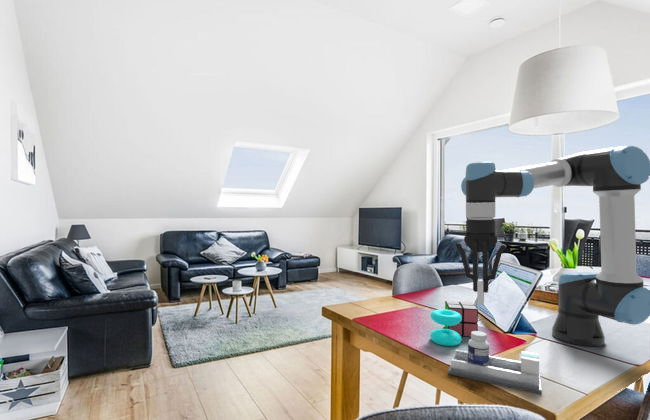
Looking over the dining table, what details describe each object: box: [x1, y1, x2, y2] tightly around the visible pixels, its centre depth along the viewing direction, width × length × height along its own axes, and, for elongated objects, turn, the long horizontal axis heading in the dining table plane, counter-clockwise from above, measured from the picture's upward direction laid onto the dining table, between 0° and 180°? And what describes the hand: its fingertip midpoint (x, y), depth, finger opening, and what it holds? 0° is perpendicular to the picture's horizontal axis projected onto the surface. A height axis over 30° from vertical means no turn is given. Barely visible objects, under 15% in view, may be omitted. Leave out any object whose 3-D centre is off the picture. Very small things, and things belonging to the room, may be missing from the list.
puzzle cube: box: [444, 300, 479, 338], centre depth 134 cm, size 10×10×10 cm
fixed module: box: [520, 350, 540, 376], centre depth 96 cm, size 4×6×6 cm
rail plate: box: [447, 349, 543, 395], centre depth 100 cm, size 22×11×4 cm, turn 62°
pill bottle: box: [467, 330, 490, 366], centre depth 102 cm, size 5×5×10 cm
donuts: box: [429, 308, 462, 347], centre depth 124 cm, size 10×10×10 cm
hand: (480, 303), depth 102 cm, fingers closed
